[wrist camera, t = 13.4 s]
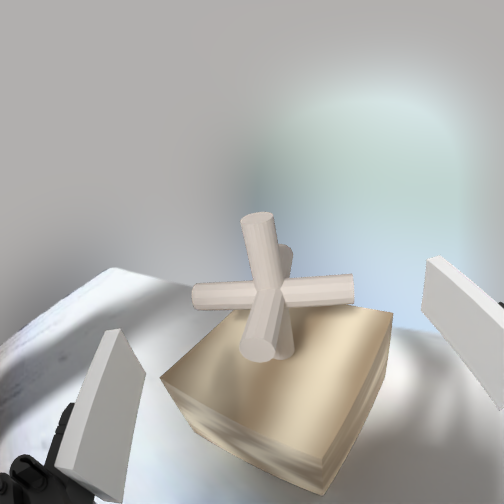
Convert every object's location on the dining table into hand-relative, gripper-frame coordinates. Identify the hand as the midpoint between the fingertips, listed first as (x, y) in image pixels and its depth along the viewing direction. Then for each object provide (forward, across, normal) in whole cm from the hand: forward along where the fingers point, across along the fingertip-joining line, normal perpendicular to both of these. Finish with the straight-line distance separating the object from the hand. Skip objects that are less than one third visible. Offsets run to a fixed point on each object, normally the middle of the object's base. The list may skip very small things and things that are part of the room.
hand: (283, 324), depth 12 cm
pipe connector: (+6, 0, -8) cm, 10 cm away
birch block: (+6, 0, -16) cm, 17 cm away
